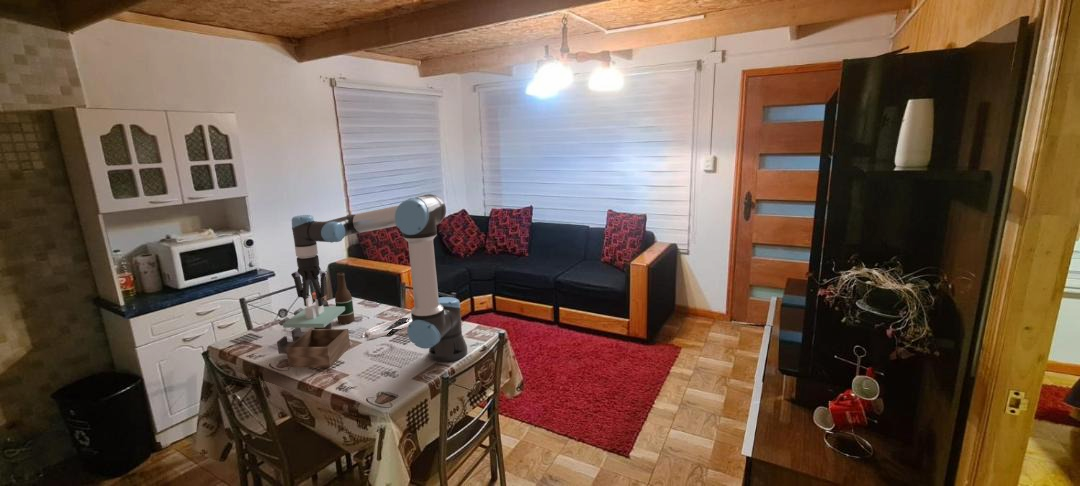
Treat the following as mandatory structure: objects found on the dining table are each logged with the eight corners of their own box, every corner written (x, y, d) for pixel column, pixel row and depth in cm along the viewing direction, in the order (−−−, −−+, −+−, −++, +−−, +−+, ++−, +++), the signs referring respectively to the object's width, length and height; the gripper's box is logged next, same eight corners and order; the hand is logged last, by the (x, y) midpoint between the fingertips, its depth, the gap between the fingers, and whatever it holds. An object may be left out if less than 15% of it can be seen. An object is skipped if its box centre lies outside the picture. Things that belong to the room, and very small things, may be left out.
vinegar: (322, 331, 213) (317, 289, 208) (335, 333, 211) (330, 290, 206) (312, 338, 206) (305, 294, 202) (324, 339, 204) (319, 295, 200)
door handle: (419, 324, 220) (371, 342, 201) (406, 319, 226) (358, 336, 207) (418, 318, 220) (370, 336, 201) (406, 314, 226) (358, 331, 207)
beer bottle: (340, 319, 227) (334, 271, 222) (356, 318, 228) (351, 270, 223) (335, 325, 220) (329, 276, 214) (352, 324, 221) (346, 275, 215)
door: (345, 310, 193) (343, 297, 192) (324, 327, 175) (322, 313, 174) (301, 310, 194) (300, 297, 193) (276, 327, 176) (274, 313, 175)
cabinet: (350, 346, 197) (347, 324, 194) (330, 367, 179) (326, 343, 177) (303, 346, 197) (299, 324, 195) (278, 367, 180) (274, 343, 178)
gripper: (332, 253, 182) (339, 310, 187) (292, 253, 183) (300, 310, 188) (323, 258, 175) (330, 317, 180) (281, 258, 175) (289, 317, 181)
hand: (315, 313), depth 184 cm, fingers closed on door, 3 cm apart
